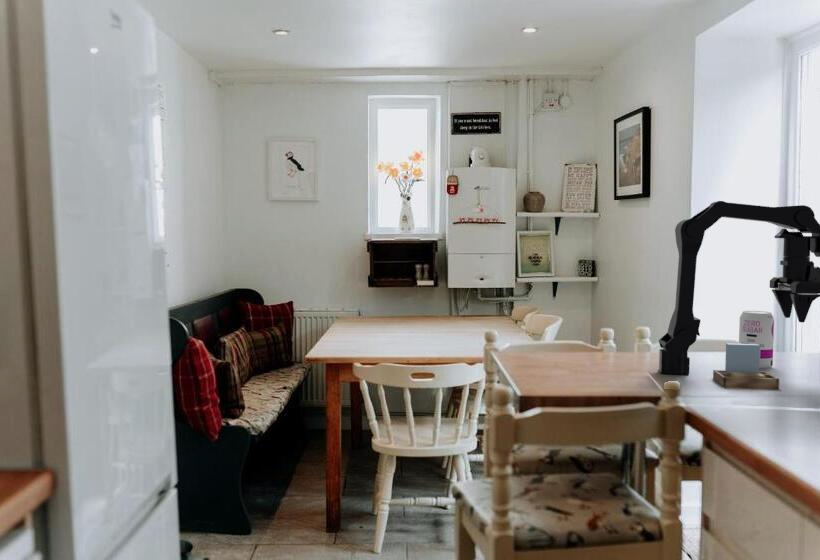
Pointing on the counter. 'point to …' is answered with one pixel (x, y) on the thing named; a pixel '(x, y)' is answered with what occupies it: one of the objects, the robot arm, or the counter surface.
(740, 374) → the offcut upper
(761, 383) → the rack
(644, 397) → the counter surface
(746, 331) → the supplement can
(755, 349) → the board
